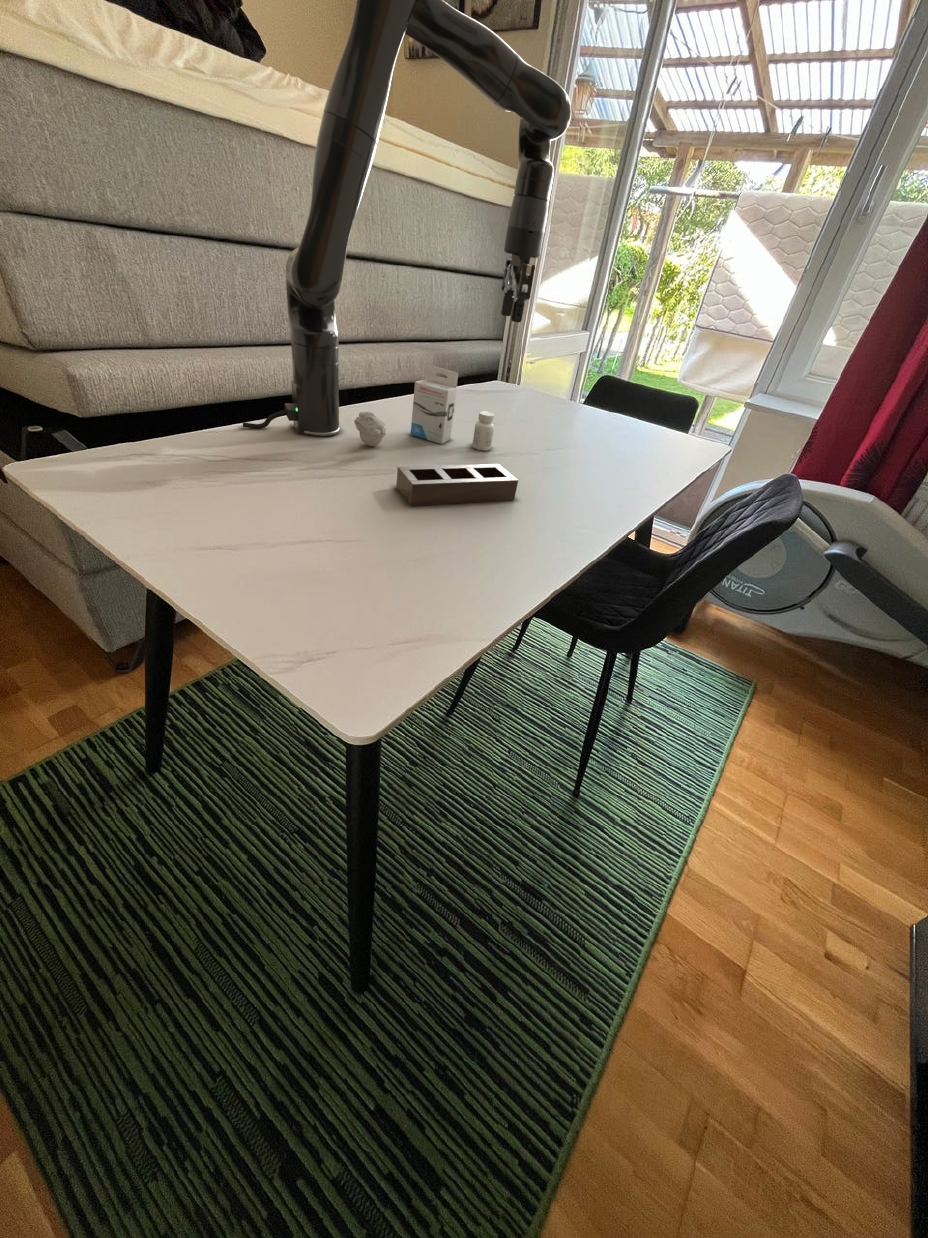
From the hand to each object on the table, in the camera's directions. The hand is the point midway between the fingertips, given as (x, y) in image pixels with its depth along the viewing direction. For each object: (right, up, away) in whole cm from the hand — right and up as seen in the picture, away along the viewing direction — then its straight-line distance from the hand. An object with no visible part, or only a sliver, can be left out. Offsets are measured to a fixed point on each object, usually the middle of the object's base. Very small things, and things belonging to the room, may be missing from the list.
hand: (510, 318), depth 113 cm
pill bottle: (-6, -26, +7) cm, 28 cm away
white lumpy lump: (-31, -29, -3) cm, 42 cm away
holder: (-12, -43, -17) cm, 48 cm away
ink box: (-18, -24, +7) cm, 31 cm away
